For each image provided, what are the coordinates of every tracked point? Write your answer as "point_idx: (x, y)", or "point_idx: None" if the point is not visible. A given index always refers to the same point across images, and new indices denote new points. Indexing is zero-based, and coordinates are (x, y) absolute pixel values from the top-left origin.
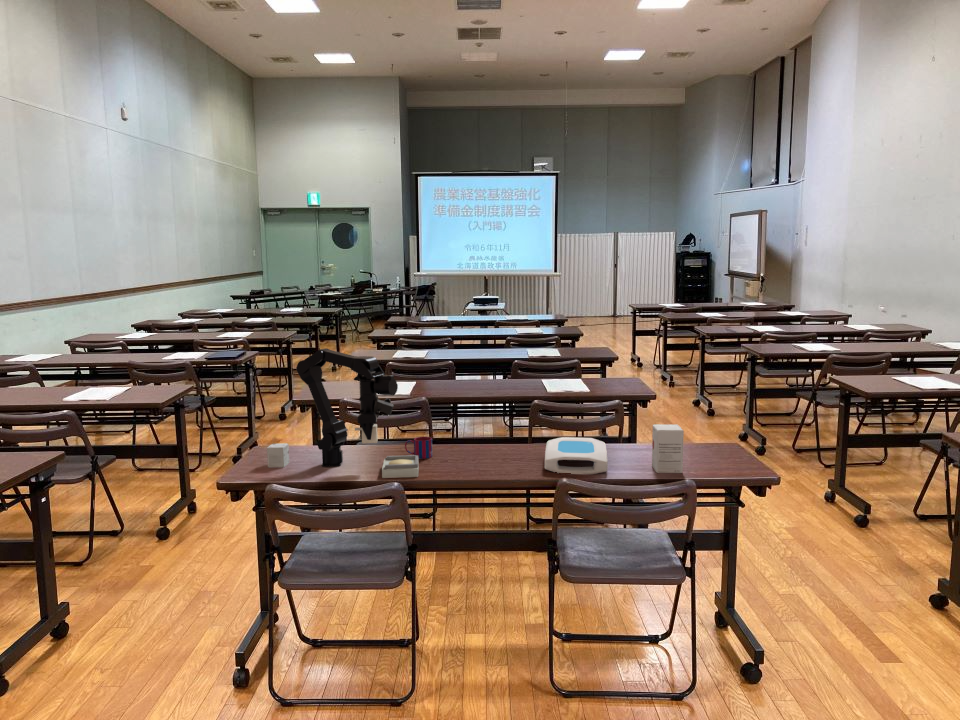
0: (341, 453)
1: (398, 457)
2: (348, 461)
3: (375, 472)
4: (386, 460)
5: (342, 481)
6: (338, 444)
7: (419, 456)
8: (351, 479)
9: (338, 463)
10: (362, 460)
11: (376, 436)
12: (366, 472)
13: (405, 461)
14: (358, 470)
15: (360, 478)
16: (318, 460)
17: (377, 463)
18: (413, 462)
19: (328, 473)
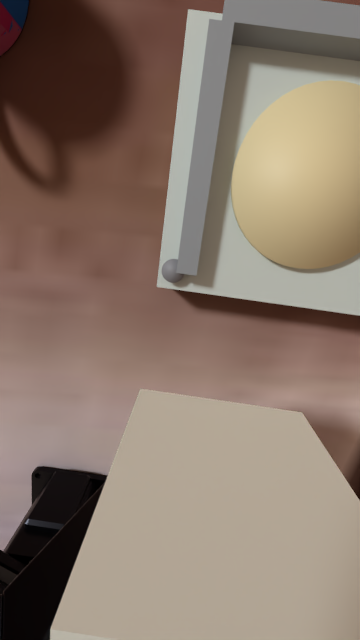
0: (68, 518)
1: (209, 187)
2: (36, 439)
3: (262, 335)
4: (203, 276)
5: (354, 479)
6: (6, 577)
7: (14, 12)
8: (339, 445)
9: (94, 487)
10: (26, 380)
11: (338, 471)
12: (247, 377)
13: (303, 140)
14: None
15: (340, 409)
16: (7, 542)
17: (93, 312)
18: (319, 74)
19: None
